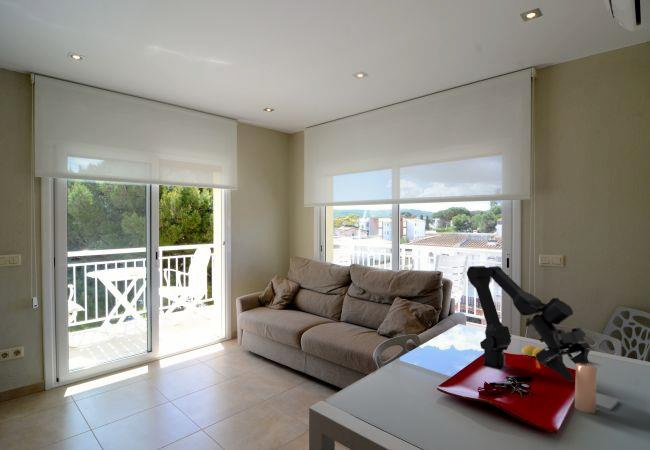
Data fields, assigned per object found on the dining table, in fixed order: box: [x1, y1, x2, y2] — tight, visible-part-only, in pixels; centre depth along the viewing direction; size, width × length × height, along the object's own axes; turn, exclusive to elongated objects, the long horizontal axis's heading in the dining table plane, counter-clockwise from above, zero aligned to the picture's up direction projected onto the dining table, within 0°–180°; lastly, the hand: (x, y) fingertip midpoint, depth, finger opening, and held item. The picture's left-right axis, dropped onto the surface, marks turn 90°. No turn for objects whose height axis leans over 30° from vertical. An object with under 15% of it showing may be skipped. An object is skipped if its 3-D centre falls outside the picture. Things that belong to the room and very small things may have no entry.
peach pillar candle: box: [574, 362, 598, 414], centre depth 106 cm, size 5×5×13 cm
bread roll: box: [521, 344, 543, 357], centre depth 148 cm, size 8×9×4 cm
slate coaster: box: [596, 392, 620, 412], centre depth 111 cm, size 9×9×1 cm
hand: (582, 378), depth 106 cm, fingers open, 9 cm apart
